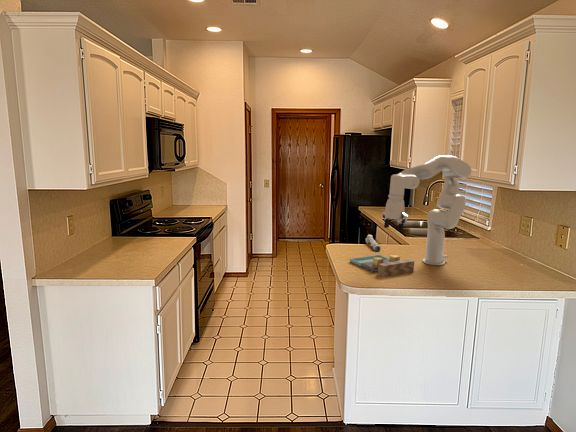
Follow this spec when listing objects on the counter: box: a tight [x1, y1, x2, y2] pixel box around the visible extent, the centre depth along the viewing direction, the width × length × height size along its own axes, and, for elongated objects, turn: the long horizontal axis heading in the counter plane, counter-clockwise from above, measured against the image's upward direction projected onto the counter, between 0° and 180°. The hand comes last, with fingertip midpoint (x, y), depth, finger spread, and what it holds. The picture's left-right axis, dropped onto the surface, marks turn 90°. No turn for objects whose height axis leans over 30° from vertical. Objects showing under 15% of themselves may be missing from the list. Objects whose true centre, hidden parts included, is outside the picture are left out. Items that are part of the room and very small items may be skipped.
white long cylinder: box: [365, 234, 381, 252], centre depth 277 cm, size 5×7×25 cm
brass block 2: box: [388, 254, 401, 262], centre depth 229 cm, size 4×4×4 cm
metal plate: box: [361, 259, 389, 273], centre depth 229 cm, size 22×10×2 cm, turn 118°
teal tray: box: [349, 254, 389, 268], centre depth 238 cm, size 22×10×2 cm, turn 118°
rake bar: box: [377, 258, 415, 277], centre depth 220 cm, size 22×4×6 cm, turn 119°
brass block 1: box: [372, 257, 383, 267], centre depth 223 cm, size 4×4×4 cm
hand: (393, 229), depth 221 cm, fingers open, 9 cm apart
